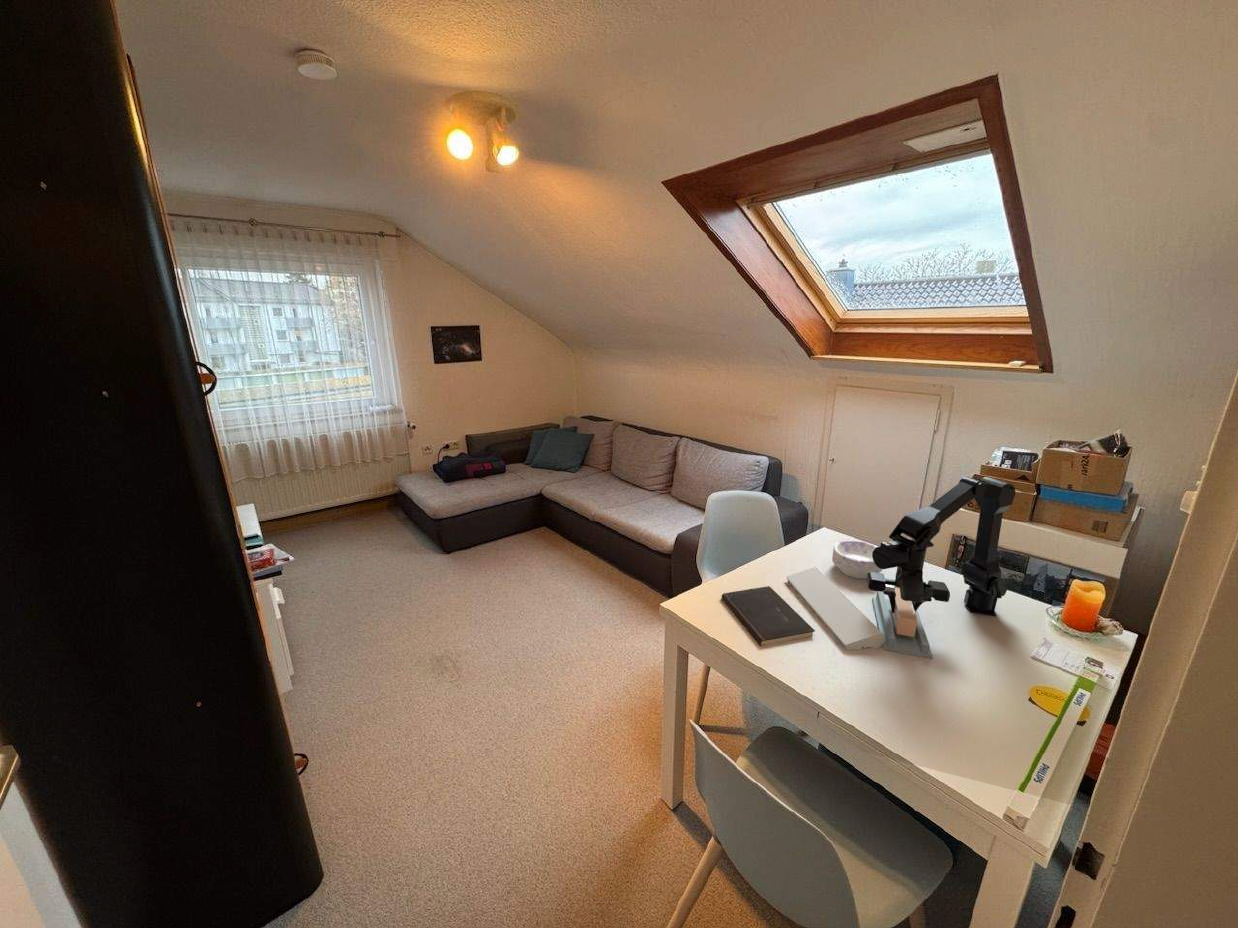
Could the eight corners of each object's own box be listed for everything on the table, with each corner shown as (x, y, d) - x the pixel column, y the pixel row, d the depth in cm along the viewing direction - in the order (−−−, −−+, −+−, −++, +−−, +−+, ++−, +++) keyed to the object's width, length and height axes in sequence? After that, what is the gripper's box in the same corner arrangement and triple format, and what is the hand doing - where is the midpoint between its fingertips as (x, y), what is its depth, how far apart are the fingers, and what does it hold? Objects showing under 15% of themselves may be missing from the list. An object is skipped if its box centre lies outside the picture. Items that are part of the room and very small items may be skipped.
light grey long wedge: (847, 659, 128) (884, 647, 129) (845, 644, 127) (882, 632, 127) (788, 588, 161) (817, 579, 161) (786, 576, 159) (815, 566, 160)
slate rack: (913, 606, 146) (915, 595, 145) (931, 658, 124) (934, 646, 123) (872, 599, 149) (873, 589, 148) (882, 649, 128) (884, 637, 127)
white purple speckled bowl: (843, 584, 158) (846, 561, 155) (823, 560, 172) (826, 539, 170) (891, 583, 158) (894, 560, 156) (867, 560, 172) (870, 539, 170)
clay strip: (905, 603, 142) (907, 588, 141) (914, 637, 128) (917, 620, 126) (889, 601, 144) (891, 585, 142) (896, 633, 129) (899, 617, 128)
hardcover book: (768, 592, 155) (769, 585, 154) (814, 637, 133) (815, 630, 133) (721, 600, 151) (721, 593, 150) (760, 647, 130) (760, 640, 129)
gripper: (874, 571, 127) (866, 624, 131) (960, 583, 120) (949, 638, 125) (870, 551, 137) (862, 601, 141) (949, 562, 130) (938, 614, 135)
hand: (901, 613), depth 135 cm, fingers closed on clay strip, 4 cm apart
